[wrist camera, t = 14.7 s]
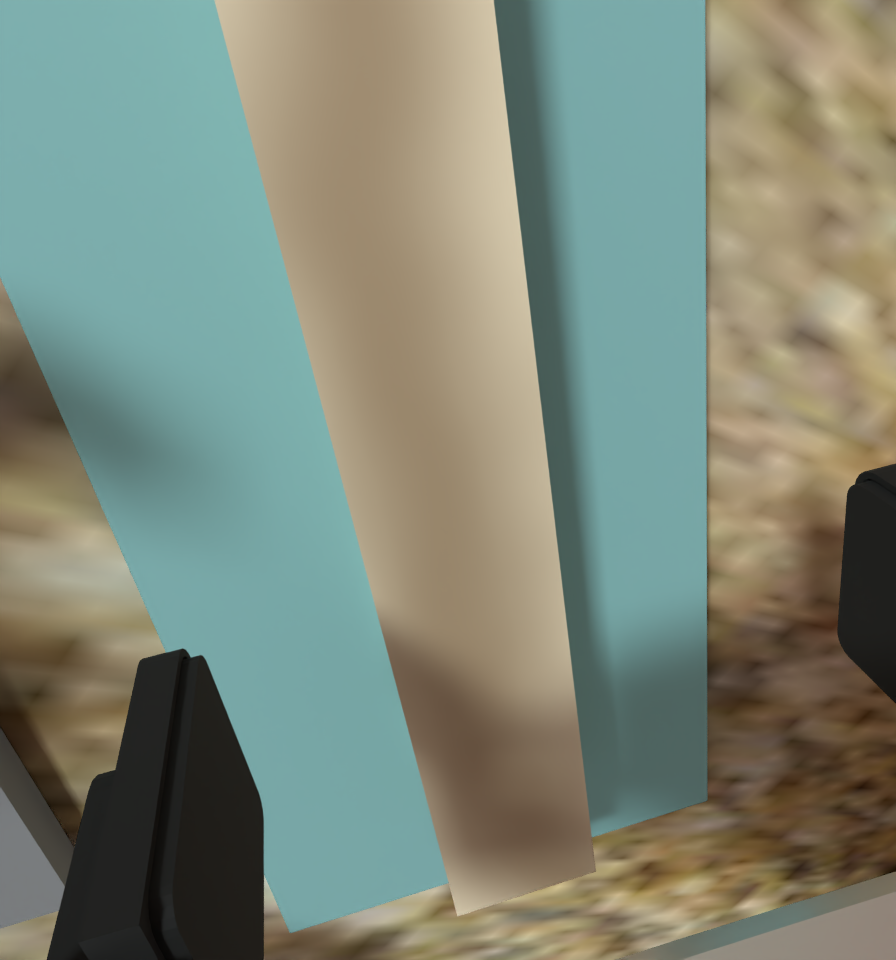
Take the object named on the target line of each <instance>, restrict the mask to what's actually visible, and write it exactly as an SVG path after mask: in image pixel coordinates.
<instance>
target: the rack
mask: <svg viewBox="0 0 896 960" xmlns="http://www.w3.org/2000/svg"><path fill="white" fill-rule="evenodd" d="M73 852H74V847H73V845H72V843H71V842H70V840H69V839H68V837H67V835H66V834H65V832H64V830H63V829H62V827H61V826H60V824H59V822H58V821H57V819H56V817H55V816H54V814H53V812H52V811H51V809H50V808H49V806H48V804H47V803H46V801H45V799H44V798H43V796H42V795H41V793H40V791H39V790H38V788H37V786H36V785H35V783H34V782H33V780H32V778H31V777H30V775H29V773H28V772H27V770H26V768H25V767H24V765H23V764H22V762H21V760H20V759H19V757H18V755H17V754H16V752H15V751H14V749H13V747H12V746H11V744H10V742H9V741H8V739H7V738H6V736H5V734H4V733H3V731H2V729H1V728H0V928H3V927H7V926H10V925H13V924H16V923H20V922H23V921H26V920H30V919H33V918H36V917H39V916H43V915H46V914H49V913H53V912H56V911H59V908H60V904H61V900H62V896H63V892H64V888H65V884H66V880H67V876H68V872H69V868H70V864H71V860H72V856H73Z"/></svg>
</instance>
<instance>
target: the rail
mask: <svg viewBox="0 0 896 960" xmlns="http://www.w3.org/2000/svg"><path fill="white" fill-rule="evenodd" d="M214 1H215V5H216V8H217V12H218V16H219V20H220V24H221V27H222V31H223V35H224V39H225V42H226V46H227V50H228V54H229V57H230V61H231V65H232V69H233V72H234V76H235V80H236V84H237V88H238V91H239V95H240V99H241V103H242V106H243V110H244V114H245V118H246V121H247V125H248V129H249V133H250V136H251V140H252V144H253V148H254V152H255V155H256V159H257V163H258V167H259V170H260V174H261V178H262V182H263V185H264V189H265V193H266V197H267V201H268V204H269V208H270V212H271V216H272V219H273V223H274V227H275V231H276V234H277V238H278V242H279V246H280V249H281V253H282V257H283V261H284V265H285V268H286V272H287V276H288V280H289V283H290V287H291V291H292V295H293V298H294V302H295V306H296V310H297V313H298V317H299V321H300V325H301V329H302V332H303V336H304V340H305V344H306V347H307V351H308V355H309V359H310V362H311V366H312V370H313V374H314V378H315V381H316V385H317V389H318V393H319V396H320V400H321V404H322V408H323V411H324V415H325V419H326V423H327V426H328V430H329V434H330V438H331V442H332V445H333V449H334V453H335V457H336V460H337V464H338V468H339V472H340V475H341V479H342V483H343V487H344V490H345V494H346V498H347V502H348V506H349V509H350V513H351V517H352V521H353V524H354V528H355V532H356V536H357V539H358V543H359V547H360V551H361V555H362V558H363V562H364V566H365V570H366V573H367V577H368V581H369V585H370V588H371V592H372V596H373V600H374V603H375V607H376V611H377V615H378V619H379V622H380V626H381V630H382V634H383V637H384V641H385V645H386V649H387V652H388V656H389V660H390V664H391V667H392V671H393V675H394V679H395V683H396V686H397V690H398V694H399V698H400V701H401V705H402V709H403V713H404V716H405V720H406V724H407V728H408V732H409V735H410V739H411V743H412V747H413V750H414V754H415V758H416V762H417V765H418V769H419V773H420V777H421V780H422V784H423V788H424V792H425V796H426V799H427V803H428V807H429V811H430V814H431V818H432V822H433V826H434V829H435V833H436V837H437V841H438V844H439V848H440V852H441V856H442V860H443V863H444V867H445V871H446V875H447V878H448V882H449V886H450V890H451V893H452V897H453V901H454V905H455V909H456V912H457V916H460V915H463V914H466V913H469V912H472V911H476V910H479V909H482V908H485V907H488V906H491V905H494V904H497V903H500V902H503V901H506V900H509V899H512V898H516V897H519V896H522V895H525V894H528V893H531V892H534V891H537V890H540V889H543V888H546V887H549V886H552V885H556V884H559V883H562V882H565V881H568V880H571V879H574V878H577V877H580V876H583V875H586V874H589V873H593V872H596V869H595V861H594V852H593V844H592V835H591V827H590V818H589V810H588V801H587V792H586V784H585V775H584V767H583V758H582V750H581V741H580V733H579V724H578V716H577V707H576V699H575V690H574V681H573V673H572V664H571V656H570V647H569V639H568V630H567V622H566V613H565V605H564V596H563V588H562V579H561V570H560V562H559V553H558V545H557V536H556V528H555V519H554V511H553V502H552V494H551V485H550V477H549V468H548V459H547V451H546V442H545V434H544V425H543V417H542V408H541V400H540V391H539V383H538V374H537V366H536V357H535V349H534V340H533V331H532V323H531V314H530V306H529V297H528V289H527V280H526V272H525V263H524V255H523V246H522V238H521V229H520V220H519V212H518V203H517V195H516V186H515V178H514V169H513V161H512V152H511V144H510V135H509V127H508V118H507V109H506V101H505V92H504V84H503V75H502V67H501V58H500V50H499V41H498V33H497V24H496V16H495V7H494V0H214Z"/></svg>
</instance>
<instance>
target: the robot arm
mask: <svg viewBox="0 0 896 960" xmlns="http://www.w3.org/2000/svg"><path fill="white" fill-rule="evenodd" d="M837 630H838V638H839V641H840V644H841V646H842V648H843V650H844V651H845V653H846V654H847V655H848V656H849V658H850V659H852V660H853V661H854V662H855V663H856V664H857V665H858V666H859V667H860V668H861V669H862V670H863V671H864V672H865V673H866V674H867V675H868V676H869V677H870V678H871V679H872V680H873V681H874V682H875V683H876V684H877V685H878V686H879V687H880V688H881V689H882V690H883V691H884V692H885V693H886V694H887V695H888V696H889V697H890V698H891V699H892V700H893V701H894V702H895V703H896V464H892V465H888V466H885V467H881V468H877V469H873V470H869V471H865V472H863V473H861V474H860V475H859V476H858V478H857V479H856V483H855V485H853V486H851V487H850V488H849V490H848V493H847V502H846V516H845V531H844V545H843V559H842V573H841V587H840V601H839V615H838V629H837ZM47 960H264V815H263V808H262V802H261V798H260V795H259V792H258V789H257V787H256V784H255V782H254V779H253V777H252V774H251V772H250V769H249V767H248V764H247V762H246V759H245V757H244V754H243V752H242V749H241V747H240V744H239V742H238V739H237V736H236V734H235V731H234V729H233V726H232V724H231V721H230V719H229V716H228V714H227V711H226V709H225V706H224V704H223V701H222V699H221V696H220V694H219V691H218V689H217V686H216V684H215V681H214V679H213V676H212V674H211V671H210V669H209V666H208V664H207V662H206V659H205V658H204V656H202V655H199V656H195V657H190V655H189V653H188V652H187V651H186V649H183V648H182V649H179V650H175V651H171V652H167V653H163V654H159V655H155V656H152V657H148V658H144V659H142V660H140V662H139V665H138V668H137V673H136V678H135V682H134V687H133V691H132V696H131V701H130V705H129V710H128V715H127V719H126V724H125V728H124V733H123V738H122V742H121V747H120V752H119V756H118V761H117V765H116V770H114V771H110V772H106V773H103V774H99V775H97V776H96V777H95V778H94V779H93V781H92V783H91V786H90V789H89V791H88V795H87V799H86V803H85V807H84V811H83V816H82V820H81V824H80V828H79V832H78V836H77V840H76V844H75V848H74V852H73V856H72V860H71V864H70V868H69V872H68V876H67V880H66V884H65V888H64V892H63V896H62V900H61V904H60V908H59V912H58V916H57V920H56V925H55V929H54V933H53V937H52V941H51V945H50V949H49V953H48V957H47ZM616 960H896V872H893V873H889V874H886V875H883V876H880V877H877V878H873V879H870V880H867V881H864V882H861V883H857V884H854V885H851V886H848V887H845V888H841V889H838V890H835V891H832V892H829V893H825V894H822V895H819V896H816V897H813V898H809V899H806V900H803V901H800V902H797V903H793V904H790V905H787V906H784V907H781V908H777V909H774V910H771V911H768V912H765V913H762V914H758V915H755V916H752V917H749V918H746V919H742V920H739V921H736V922H733V923H730V924H727V925H723V926H720V927H717V928H714V929H711V930H707V931H704V932H701V933H698V934H695V935H692V936H688V937H685V938H682V939H679V940H676V941H672V942H669V943H666V944H663V945H660V946H657V947H654V948H651V949H647V950H644V951H641V952H638V953H635V954H632V955H629V956H626V957H622V958H619V959H616Z"/></svg>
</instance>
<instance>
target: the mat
mask: <svg viewBox="0 0 896 960" xmlns="http://www.w3.org/2000/svg"><path fill="white" fill-rule="evenodd" d="M494 7H495V16H496V24H497V33H498V41H499V50H500V58H501V67H502V75H503V84H504V92H505V101H506V109H507V118H508V127H509V135H510V144H511V152H512V161H513V169H514V178H515V186H516V195H517V203H518V212H519V220H520V229H521V238H522V246H523V255H524V263H525V272H526V280H527V289H528V297H529V306H530V314H531V323H532V331H533V340H534V349H535V357H536V366H537V374H538V383H539V391H540V400H541V408H542V417H543V425H544V434H545V442H546V451H547V459H548V468H549V477H550V485H551V494H552V502H553V511H554V519H555V528H556V536H557V545H558V553H559V562H560V570H561V579H562V588H563V596H564V605H565V613H566V622H567V630H568V639H569V647H570V656H571V664H572V673H573V681H574V690H575V699H576V707H577V716H578V724H579V733H580V741H581V750H582V758H583V767H584V775H585V784H586V792H587V801H588V810H589V818H590V827H591V835H592V837H595V836H598V835H601V834H604V833H607V832H610V831H613V830H617V829H620V828H623V827H626V826H629V825H632V824H635V823H639V822H642V821H645V820H648V819H651V818H654V817H658V816H661V815H664V814H667V813H670V812H673V811H676V810H680V809H683V808H686V807H689V806H692V805H695V804H698V803H702V802H705V801H707V460H706V109H705V0H494ZM0 278H1V280H2V282H3V285H4V287H5V289H6V291H7V294H8V296H9V298H10V300H11V303H12V305H13V307H14V309H15V312H16V314H17V316H18V319H19V321H20V323H21V325H22V328H23V330H24V332H25V334H26V337H27V339H28V341H29V343H30V346H31V348H32V350H33V352H34V355H35V357H36V359H37V362H38V364H39V366H40V368H41V371H42V373H43V375H44V377H45V380H46V382H47V384H48V386H49V389H50V391H51V393H52V395H53V398H54V400H55V402H56V405H57V407H58V409H59V411H60V414H61V416H62V418H63V420H64V423H65V425H66V427H67V429H68V432H69V434H70V436H71V438H72V441H73V443H74V445H75V448H76V450H77V452H78V454H79V457H80V459H81V461H82V463H83V466H84V468H85V470H86V472H87V475H88V477H89V479H90V481H91V484H92V486H93V488H94V491H95V493H96V495H97V497H98V500H99V502H100V504H101V506H102V509H103V511H104V513H105V515H106V518H107V520H108V522H109V524H110V527H111V529H112V531H113V534H114V536H115V538H116V540H117V543H118V545H119V547H120V549H121V552H122V554H123V556H124V558H125V561H126V563H127V565H128V567H129V570H130V572H131V574H132V577H133V579H134V581H135V583H136V586H137V588H138V590H139V592H140V595H141V597H142V599H143V601H144V604H145V606H146V608H147V610H148V613H149V615H150V617H151V620H152V622H153V624H154V626H155V629H156V631H157V633H158V635H159V638H160V640H161V642H162V644H163V647H164V649H165V651H166V653H167V652H171V651H175V650H179V649H182V648H183V649H186V651H187V652H188V653H189V655H190V657H195V656H199V655H202V656H204V658H205V659H206V662H207V664H208V666H209V669H210V671H211V674H212V676H213V679H214V681H215V684H216V686H217V689H218V691H219V694H220V696H221V699H222V701H223V704H224V706H225V709H226V711H227V714H228V716H229V719H230V721H231V724H232V726H233V729H234V731H235V734H236V736H237V739H238V742H239V744H240V747H241V749H242V752H243V754H244V757H245V759H246V762H247V764H248V767H249V769H250V772H251V774H252V777H253V779H254V782H255V784H256V787H257V789H258V792H259V795H260V798H261V802H262V808H263V815H264V875H265V878H266V880H267V882H268V884H269V887H270V889H271V891H272V893H273V896H274V898H275V900H276V902H277V905H278V907H279V909H280V911H281V914H282V916H283V918H284V921H285V923H286V925H287V927H288V930H289V932H290V933H293V932H296V931H299V930H302V929H305V928H308V927H311V926H315V925H318V924H321V923H324V922H327V921H330V920H333V919H337V918H340V917H343V916H346V915H349V914H352V913H355V912H359V911H362V910H365V909H368V908H371V907H374V906H377V905H381V904H384V903H387V902H390V901H393V900H396V899H399V898H403V897H406V896H409V895H412V894H415V893H418V892H422V891H425V890H428V889H431V888H434V887H437V886H440V885H444V884H447V883H449V882H448V878H447V875H446V871H445V867H444V863H443V860H442V856H441V852H440V848H439V844H438V841H437V837H436V833H435V829H434V826H433V822H432V818H431V814H430V811H429V807H428V803H427V799H426V796H425V792H424V788H423V784H422V780H421V777H420V773H419V769H418V765H417V762H416V758H415V754H414V750H413V747H412V743H411V739H410V735H409V732H408V728H407V724H406V720H405V716H404V713H403V709H402V705H401V701H400V698H399V694H398V690H397V686H396V683H395V679H394V675H393V671H392V667H391V664H390V660H389V656H388V652H387V649H386V645H385V641H384V637H383V634H382V630H381V626H380V622H379V619H378V615H377V611H376V607H375V603H374V600H373V596H372V592H371V588H370V585H369V581H368V577H367V573H366V570H365V566H364V562H363V558H362V555H361V551H360V547H359V543H358V539H357V536H356V532H355V528H354V524H353V521H352V517H351V513H350V509H349V506H348V502H347V498H346V494H345V490H344V487H343V483H342V479H341V475H340V472H339V468H338V464H337V460H336V457H335V453H334V449H333V445H332V442H331V438H330V434H329V430H328V426H327V423H326V419H325V415H324V411H323V408H322V404H321V400H320V396H319V393H318V389H317V385H316V381H315V378H314V374H313V370H312V366H311V362H310V359H309V355H308V351H307V347H306V344H305V340H304V336H303V332H302V329H301V325H300V321H299V317H298V313H297V310H296V306H295V302H294V298H293V295H292V291H291V287H290V283H289V280H288V276H287V272H286V268H285V265H284V261H283V257H282V253H281V249H280V246H279V242H278V238H277V234H276V231H275V227H274V223H273V219H272V216H271V212H270V208H269V204H268V201H267V197H266V193H265V189H264V185H263V182H262V178H261V174H260V170H259V167H258V163H257V159H256V155H255V152H254V148H253V144H252V140H251V136H250V133H249V129H248V125H247V121H246V118H245V114H244V110H243V106H242V103H241V99H240V95H239V91H238V88H237V84H236V80H235V76H234V72H233V69H232V65H231V61H230V57H229V54H228V50H227V46H226V42H225V39H224V35H223V31H222V27H221V24H220V20H219V16H218V12H217V8H216V5H215V1H214V0H0Z"/></svg>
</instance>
